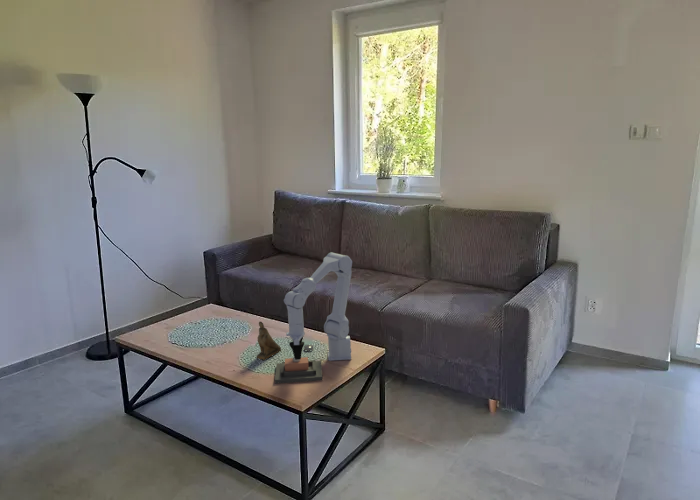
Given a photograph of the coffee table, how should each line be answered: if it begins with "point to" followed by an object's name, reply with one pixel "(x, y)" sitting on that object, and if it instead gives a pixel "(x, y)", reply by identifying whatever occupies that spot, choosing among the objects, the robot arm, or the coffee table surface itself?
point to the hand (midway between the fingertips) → (298, 354)
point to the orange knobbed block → (296, 364)
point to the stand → (299, 373)
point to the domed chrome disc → (308, 347)
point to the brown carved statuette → (266, 343)
